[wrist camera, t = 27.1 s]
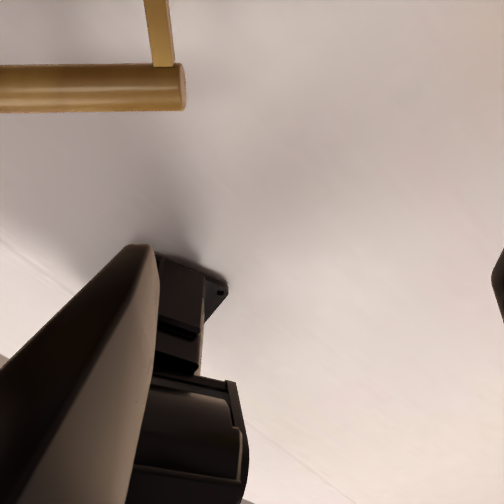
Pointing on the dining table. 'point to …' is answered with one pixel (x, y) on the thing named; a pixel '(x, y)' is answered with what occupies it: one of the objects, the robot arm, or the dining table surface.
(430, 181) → the dining table surface
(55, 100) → the drawer
